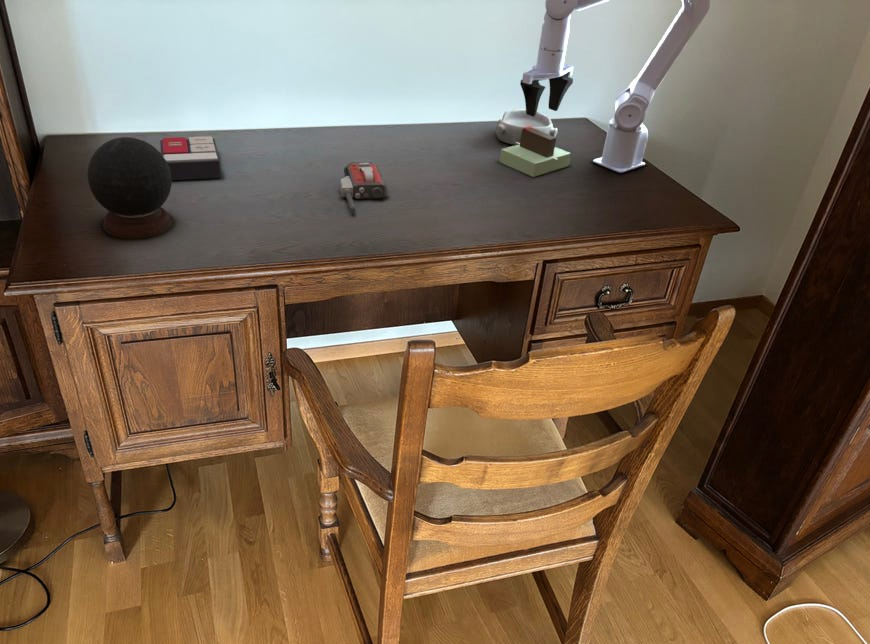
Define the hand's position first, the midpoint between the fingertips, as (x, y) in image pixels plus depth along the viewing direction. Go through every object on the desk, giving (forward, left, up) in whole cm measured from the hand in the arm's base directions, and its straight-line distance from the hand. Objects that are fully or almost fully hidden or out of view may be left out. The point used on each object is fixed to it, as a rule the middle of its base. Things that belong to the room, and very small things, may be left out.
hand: (541, 112), depth 166 cm
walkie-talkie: (+48, -3, -10) cm, 49 cm away
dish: (-5, -8, -10) cm, 14 cm away
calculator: (+69, -33, -10) cm, 77 cm away
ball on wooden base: (+89, -14, -10) cm, 91 cm away
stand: (+6, +4, -9) cm, 12 cm away
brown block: (+6, +4, -6) cm, 10 cm away
